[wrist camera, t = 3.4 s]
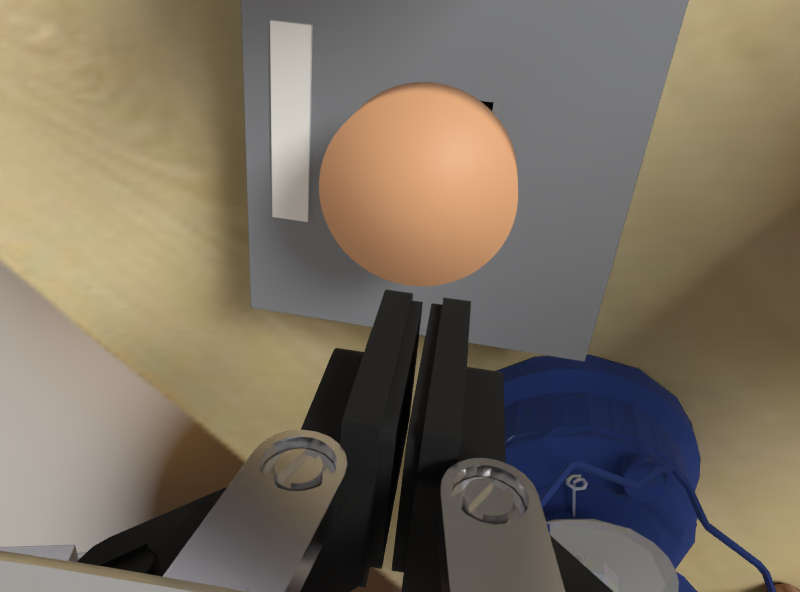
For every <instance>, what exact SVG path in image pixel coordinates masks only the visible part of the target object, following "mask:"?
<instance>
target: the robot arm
mask: <svg viewBox="0 0 800 592" xmlns="http://www.w3.org/2000/svg"><path fill="white" fill-rule="evenodd" d="M422 306H423V302H420V301H413V293H408V292H400V291H393V290H385V292H384V294H383V297H382V300H381V303H380V306H379V309H378V312H377V316H376V319H375V322H374V325H373V328H372V331H371V334H370V337H369V340H368V343H367V346H366V349H365V352H360V351H353V350H346V349H339V348H336V349H334V351H333V353H332V355H331V358H330V360H329V363H328V365H327V368H326V370H325V372H324V375H323V377H322V380H321V382H320V384H319V387H318V389H317V392H316V394H315V397H314V399H313V401H312V404H311V406H310V409H309V411H308V414H307V416H306V418H305V421H304V423H303V426H302V428H301V430H292V431H286V432H283V433H279V434H276V435H274V436H272V437H270V438H268V439H266V440H265V441H263V442H262V443H261V444H260V445H259V446H258V447H257V448H256V449H255V450H254V452H253V453H252V454H251V456H250V457H249V458H248V460H247V461H246V463H245V464H244V465H243V467H242V468H241V469H240V471H239V472H238V473H237V475H236V476H235V478H234V479H233V480H232V482H231V483H230V484H229V486H228V487H226V488H223V489H221V490H219V491H216V492H214V493H212V494H210V495H207V496H205V497H203V498H200V499H198V500H195V501H193V502H191V503H189V504H186V505H184V506H182V507H179V508H177V509H175V510H172V511H170V512H168V513H165V514H163V515H161V516H158V517H156V518H154V519H151V520H149V521H147V522H144V523H142V524H140V525H137V526H135V527H133V528H130V529H128V530H126V531H123V532H121V533H119V534H116V535H114V536H112V537H109V538H108V539H106V540H104V541H102V542H101V543H99V544H97V545H95V546H93V547H92V548H91V549H90V550H89V551H88V552H87V553H77V551H76V547H75V545H52V546H23V547H0V592H350V591H351V590H353V589H355V588H357V587H358V586H362V587H366V582H367V577H368V572H369V568H370V567H375V568H382V564H383V559H384V554H385V548H386V543H387V538H388V532H389V527H390V521H391V516H392V511H393V505H394V500H395V494H396V489H397V484H398V478H399V473H400V467H401V462H402V457H403V451H404V446H405V440H406V435H407V430H408V424H409V430H408V436H407V444H406V452H405V461H404V469H403V478H402V486H401V495H400V503H399V512H398V521H397V529H396V538H395V546H394V555H393V563H392V571H398V572H404V577H403V584H402V592H613V591H612V590H611V589H610V588H609V587H608V586H607V585H606V584H605V583H603V582H602V581H601V580H600V579H599V578H598V577H597V576H596V575H594V574H593V573H592V572H591V571H590V570H589V569H588V568H587V567H585V566H584V565H583V564H582V563H581V562H580V561H579V560H578V559H577V558H575V557H574V556H573V555H572V554H571V553H570V552H569V551H568V550H566V549H565V548H564V547H563V546H562V545H561V544H560V543H559V542H557V541H556V540H555V539H554V538H553V537H552V536H551V535H550V534H549V531H548V527H547V524H546V520H545V516H544V513H543V509H542V506H541V502H540V498H539V495H538V493H537V491H536V489H535V487H534V485H533V483H532V482H531V481H530V480H529V479H528V478H527V477H526V475H525V474H524V473H522V472H521V471H519V470H518V469H516V468H515V467H513V466H512V465H509V464H506V458H505V413H504V376H503V372H497V371H490V370H483V369H477V368H470V367H467V355H468V341H469V326H470V311H471V301H466V300H458V299H451V298H443V304H442V305H441V304H434V303H431V309H430V314H429V319H428V325H427V330H426V336H425V341H424V347H423V352H422V358H421V363H420V368H419V374H418V379H417V385H416V390H415V396H414V401H413V407H412V412H411V417H410V409H411V401H412V392H413V384H414V375H415V366H416V358H417V349H418V341H419V332H420V324H421V315H422ZM409 417H410V423H409Z"/></svg>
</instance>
